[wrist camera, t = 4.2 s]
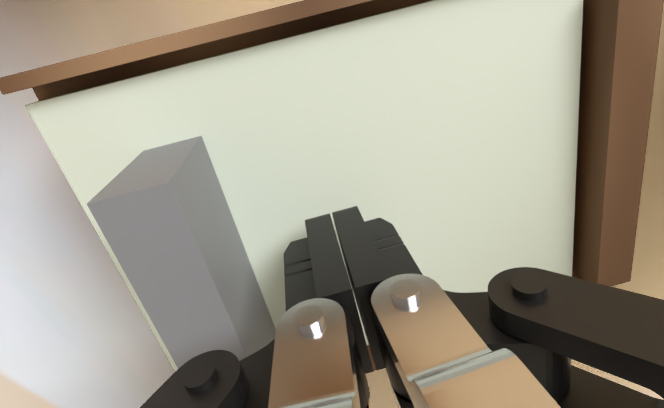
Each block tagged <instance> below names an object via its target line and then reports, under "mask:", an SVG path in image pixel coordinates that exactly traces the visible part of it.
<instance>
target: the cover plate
mask: <svg viewBox="0 0 664 408" xmlns="http://www.w3.org/2000/svg"><path fill="white" fill-rule="evenodd" d="M582 20H583V0H431V1H427V2H423V3H419V4H415V5H411V6H407V7H403V8H399V9H396V10H392V11H388V12H384V13H380V14H376V15H372V16H368V17H364V18H360V19H357V20H353V21H349V22H345V23H341V24H337V25H333V26H329V27H325V28H322V29H318V30H314V31H310V32H306V33H302V34H298V35H294V36H290V37H286V38H283V39H279V40H275V41H271V42H267V43H263V44H259V45H255V46H251V47H247V48H244V49H240V50H236V51H232V52H228V53H224V54H220V55H216V56H212V57H209V58H205V59H201V60H197V61H193V62H189V63H185V64H181V65H177V66H173V67H170V68H166V69H162V70H158V71H154V72H150V73H146V74H142V75H138V76H135V77H131V78H127V79H123V80H119V81H115V82H111V83H107V84H103V85H99V86H96V87H92V88H88V89H84V90H80V91H76V92H72V93H68V94H64V95H61V96H57V97H53V98H49V99H45V100H41V101H37V102H34V103H31V104H28V105H25V106H26V108H27V110H28V112H29V113H30V115H31V117H32V119H33V120H34V122H35V124H36V126H37V128H38V129H39V131H40V133H41V135H42V136H43V138H44V140H45V142H46V144H47V145H48V147H49V149H50V151H51V152H52V154H53V156H54V158H55V160H56V161H57V163H58V165H59V167H60V168H61V170H62V172H63V174H64V176H65V177H66V179H67V181H68V183H69V184H70V186H71V188H72V190H73V191H74V193H75V195H76V197H77V199H78V200H79V202H80V204H81V206H82V207H83V209H84V211H85V213H86V215H87V216H88V218H89V220H90V222H91V223H92V225H93V227H94V229H95V231H96V232H97V234H98V236H99V238H100V239H101V241H102V243H103V245H104V247H105V248H106V250H107V252H108V254H109V255H110V257H111V259H112V261H113V263H114V264H115V266H116V268H117V270H118V271H119V273H120V275H121V277H122V278H123V280H124V282H125V284H126V286H127V287H128V289H129V291H130V293H131V294H132V296H133V298H134V300H135V302H136V303H137V305H138V307H139V309H140V310H141V312H142V314H143V316H144V318H145V319H146V321H147V323H148V325H149V326H150V328H151V330H152V332H153V334H154V335H155V337H156V339H157V341H158V342H159V344H160V346H161V348H162V350H163V351H164V353H165V355H166V357H167V358H168V360H169V362H170V364H171V366H172V367H173V369H174V371H175V372H176V371H177V370H178V369H179V368H180V367H181V366H182V365H183V364H185V363H186V362H187V361H189V360H190V359H192V358H194V357H196V356H198V355H200V354H202V353H205V352H208V351H212V350H226V351H229V352H232V353H233V354H234V355H236V357H237V358H238V360H239V361H240V360H242V359H244V358H246V357H248V356H250V355H251V354H253V353H255V352H257V351H259V350H260V349H262V348H264V347H265V346H266V345H268V344H269V343H270V342H271V341H272V340H273V339H275V333H276V326H277V324H278V321H279V320H280V318H281V317H282V315H283V314H284V313H285V312H286V305H285V279H284V278H285V276H284V252H285V250H286V249H287V247H288V245H289V244H290V242H292V241H296V240H299V239H303V238H307V232H306V226H305V220H306V219H310V218H314V217H318V216H321V215H325V214H329V213H330V216H331V219H332V223H333V226H334V229H335V233H336V236H337V240H338V243H339V246H340V242H339V238H338V235H337V231H336V227H335V223H334V219H333V215H332V212H336V211H339V210H343V209H347V208H350V207H354V206H357V207H358V209H359V211H360V213H361V215H362V218H363V220H364V222H365V221H369V220H372V219H376V218H382V219H384V220H386V221H388V222H390V223H391V224H393V226H394V227H395V229H396V231H397V232H398V234H399V236H400V237H401V239H402V241H403V243H404V245H405V246H406V248H407V249H408V251H409V253H410V254H411V256H412V258H413V259H414V261H415V263H416V264H417V266H418V268H419V269H420V271H421V273H422V274H423V275H424V276H427V277H429V278H431V279H433V280H434V281H436V282H437V283H438V284H439V286H440V287H441V288H442V289H443V290H445V291H450V292H457V293H471V292H488V284H489V282H490V280H491V279H492V278H493V277H494V276H495V275H497V274H498V273H500V272H502V271H505V270H508V269H512V268H519V267H531V268H539V269H543V270H547V271H551V272H555V273H559V274H563V275H567V276H571V277H572V264H573V240H574V215H575V191H576V166H577V142H578V117H579V93H580V68H581V44H582ZM340 250H341V246H340ZM341 253H342V250H341ZM342 257H343V254H342ZM343 260H344V258H343ZM344 263H345V261H344ZM345 267H346V265H345ZM346 270H347V269H346ZM347 273H348V272H347ZM348 277H349V276H348ZM349 280H350V279H349ZM350 284H351V283H350ZM351 287H352V286H351ZM352 291H353V290H352ZM353 294H354V293H353ZM354 298H355V296H354ZM355 302H356V300H355ZM356 306H357V303H356ZM357 310H358V306H357ZM358 314H359V317H360V321H361V325H362V329H363V333H364V337H365V340H366V344H367V345H369V343H368V340H367V337H366V333H365V330H364V327H363V323H362V320H361V316H360V313H359V310H358Z"/></svg>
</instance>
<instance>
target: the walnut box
mask: <svg viewBox="0 0 664 408" xmlns="http://www.w3.org/2000/svg"><path fill="white" fill-rule="evenodd" d="M427 1H431V0H304V1H300V2H296V3H292V4H288V5H284V6H280V7H276V8H272V9H268V10H264V11H260V12H256V13H253V14H249V15H245V16H241V17H237V18H233V19H229V20H225V21H221V22H217V23H213V24H209V25H205V26H202V27H198V28H194V29H190V30H186V31H182V32H178V33H174V34H170V35H166V36H162V37H158V38H154V39H151V40H147V41H143V42H139V43H135V44H131V45H127V46H123V47H119V48H115V49H111V50H107V51H103V52H100V53H96V54H92V55H88V56H84V57H80V58H76V59H72V60H68V61H64V62H60V63H56V64H52V65H49V66H45V67H41V68H37V69H33V70H29V71H25V72H21V73H17V74H13V75H9V76H5V77H1V78H0V91H1V92H2V94H3V95H4V94H8V93H12V92H16V91H20V90H24V89H28V88H32V89H33V90H34V92H35V94H36V96H37V98H38V100H39V101H41V100H45V99H49V98H53V97H57V96H61V95H64V94H68V93H72V92H76V91H80V90H84V89H88V88H92V87H96V86H99V85H103V84H107V83H111V82H115V81H119V80H123V79H127V78H131V77H135V76H138V75H142V74H146V73H150V72H154V71H158V70H162V69H166V68H170V67H173V66H177V65H181V64H185V63H189V62H193V61H197V60H201V59H205V58H209V57H212V56H216V55H220V54H224V53H228V52H232V51H236V50H240V49H244V48H247V47H251V46H255V45H259V44H263V43H267V42H271V41H275V40H279V39H283V38H286V37H290V36H294V35H298V34H302V33H306V32H310V31H314V30H318V29H322V28H325V27H329V26H333V25H337V24H341V23H345V22H349V21H353V20H357V19H360V18H364V17H368V16H372V15H376V14H380V13H384V12H388V11H392V10H396V9H399V8H403V7H407V6H411V5H415V4H419V3H423V2H427ZM663 3H664V0H583V20H582V44H581V68H580V93H579V117H578V142H577V166H576V191H575V215H574V240H573V264H572V277H575V278H579V279H583V280H587V281H591V282H595V283H598V284H602V285H606V286H614V285H618V284H621V283H625V282H629V281H630V278H631V270H632V262H633V253H634V245H635V237H636V228H637V220H638V212H639V203H640V195H641V186H642V178H643V170H644V161H645V153H646V145H647V136H648V128H649V120H650V111H651V103H652V94H653V86H654V78H655V69H656V61H657V53H658V44H659V36H660V28H661V19H662V11H663ZM367 348H368V352H369V356H370V359H371V363H372V367H373V371H374V370H376V367H375V364H374V360H373V357H372V354H371V350H370V347H369V345H367Z"/></svg>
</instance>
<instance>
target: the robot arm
mask: <svg viewBox="0 0 664 408" xmlns="http://www.w3.org/2000/svg"><path fill="white" fill-rule="evenodd" d="M332 215H333V219H334V223H335V227H336V231H337V235H338V238H339V242H340V246H341V250H342V253H341V250H340V246H339V243H338V240H337V236H336V233H335V229H334V226H333V223H332V219H331V216H330V213H329V214H325V215H321V216H318V217H314V218H310V219H306V220H305V226H306V232H307V238H303V239H299V240H296V241H292V242H290V244H289V245H288V247H287V249H286V250H285V252H284V276H285V278H284V279H285V305H286V312H285V313H284V314H283V315H282V317H281V318H280V320H279V321H278V324H277V326H276V333H275V339H273V340H272V341H271V342H270V343H269V344H268V345H266V346H265V347H264V348H262V349H260V350H259V351H257V352H255V353H253V354H251V355H250V356H248V357H246V358H244V359H242V360H240V361H239V360H238V358H237V357H236V355H234V354H233V353H232V352H229V351H226V350H212V351H208V352H205V353H202V354H200V355H198V356H196V357H194V358H192V359H190V360H189V361H187V362H186V363H185V364H183V365H182V366H181V367H180V368H179V369H178V370H177V371H176V372H175V373H174V374H173V375H172V376H171V377H170V378H169V379H168V380H167V381H166V382H165V383H164V384H163V385H162V386H161V387H160V388H159V389H158V390H157V391H156V392H155V393H154V394H153V395H152V396H151V397H150V398H149V399H148V400H147V401H146V402H145V403H144V404H143V405H142V406H141V407H140V408H371V406H370V402H369V397H370V392H369V387H368V383H367V379H366V375H365V374H366V373H369V372H373V367H372V363H371V359H370V356H369V352H368V348H367V344H366V340H365V337H364V333H363V329H362V325H361V321H360V317H359V314H358V310H359V313H360V316H361V320H362V323H363V327H364V330H365V333H366V337H367V340H368V343H369V347H370V350H371V354H372V357H373V360H374V364H375V367H376V370H379V369H383V368H386V370H387V373H388V376H389V379H390V383H391V387H392V391H393V395H394V399H395V402H396V404H397V407H398V408H664V400H661V399H657V398H653V397H650V396H648V395H645V394H643V393H640V392H638V391H635V390H633V389H630V388H628V387H625V386H623V385H620V384H617V383H615V382H612V381H610V380H607V379H605V378H602V377H600V376H597V375H595V374H592V373H590V372H587V371H585V370H582V369H579V368H577V367H574V366H572V365H571V359H573V360H576V361H578V362H581V363H584V364H586V365H589V366H591V367H594V368H597V369H599V370H602V371H604V372H607V373H610V374H612V375H615V376H617V377H620V378H623V379H625V380H628V381H630V382H633V383H636V384H638V385H641V386H643V387H646V388H648V389H650V390H652V391H654V392H655V393H657V394H658V395H660V396H661V397H662V398H664V300H661V299H657V298H653V297H649V296H646V295H642V294H638V293H634V292H630V291H626V290H622V289H618V288H614V287H610V286H606V285H602V284H598V283H595V282H591V281H587V280H583V279H579V278H575V277H571V276H567V275H563V274H559V273H555V272H551V271H547V270H543V269H539V268H531V267H519V268H512V269H508V270H505V271H502V272H500V273H498V274H497V275H495V276H494V277H493V278H492V279H491V280H490V282H489V284H488V292H471V293H457V292H450V291H445V290H443V289H442V288H441V287H440V286H439V284H438V283H437V282H436V281H434V280H433V279H431V278H429V277H427V276H424V275H423V274H422V273H421V271H420V269H419V268H418V266H417V264H416V263H415V261H414V259H413V258H412V256H411V254H410V253H409V251H408V249H407V248H406V246H405V245H404V243H403V241H402V239H401V237H400V236H399V234H398V232H397V231H396V229H395V227H394V226H393V224H391V223H390V222H388V221H386V220H384V219H382V218H376V219H372V220H369V221H365V222H364V220H363V218H362V215H361V213H360V211H359V209H358V207H357V206H354V207H350V208H347V209H343V210H339V211H336V212H332ZM342 254H343V257H342ZM343 258H344V260H343ZM344 261H345V263H344ZM345 265H346V267H345ZM346 269H347V270H346ZM347 272H348V273H347ZM348 276H349V277H348ZM349 279H350V280H349ZM350 283H351V284H350ZM351 286H352V287H351ZM352 290H353V291H352ZM353 293H354V294H353ZM354 296H355V298H354ZM355 300H356V302H355ZM356 303H357V306H358V310H357V306H356Z"/></svg>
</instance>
